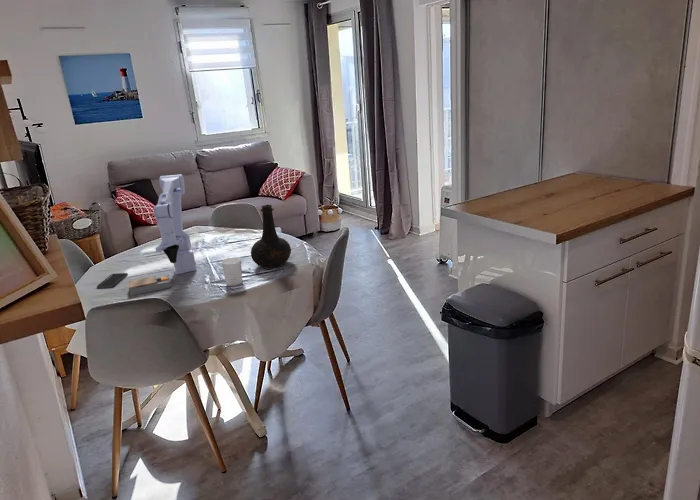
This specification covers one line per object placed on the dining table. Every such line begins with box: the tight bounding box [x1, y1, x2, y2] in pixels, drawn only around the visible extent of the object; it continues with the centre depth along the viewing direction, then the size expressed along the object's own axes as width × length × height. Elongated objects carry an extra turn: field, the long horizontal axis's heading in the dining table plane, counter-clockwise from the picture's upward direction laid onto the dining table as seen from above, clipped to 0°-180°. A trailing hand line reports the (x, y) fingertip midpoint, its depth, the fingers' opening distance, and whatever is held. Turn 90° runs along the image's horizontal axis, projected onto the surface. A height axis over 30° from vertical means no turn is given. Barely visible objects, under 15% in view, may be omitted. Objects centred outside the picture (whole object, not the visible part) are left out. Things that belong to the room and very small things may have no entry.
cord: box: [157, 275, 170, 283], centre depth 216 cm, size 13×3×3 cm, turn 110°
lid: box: [128, 275, 157, 290], centre depth 214 cm, size 11×8×1 cm
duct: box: [128, 275, 171, 296], centre depth 215 cm, size 16×8×3 cm, turn 113°
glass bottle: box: [250, 204, 292, 269], centre depth 228 cm, size 18×18×28 cm
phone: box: [96, 272, 129, 289], centre depth 226 cm, size 8×1×15 cm
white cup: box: [221, 257, 243, 287], centre depth 213 cm, size 8×8×10 cm
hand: (173, 262), depth 216 cm, fingers closed
